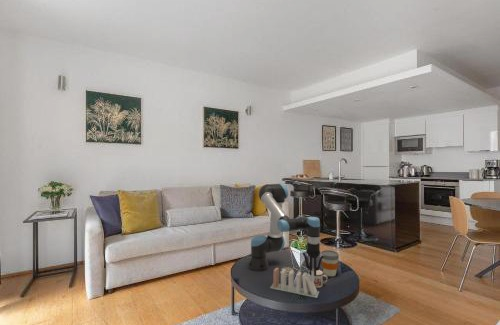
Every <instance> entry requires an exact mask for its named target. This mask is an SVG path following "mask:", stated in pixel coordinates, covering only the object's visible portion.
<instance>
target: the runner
mask: <svg viewBox="0 0 500 325" xmlns="http://www.w3.org/2000/svg"><path fill="white" fill-rule="evenodd" d="M269 289H272V290H277V291H282V292H286V293H293V294H296V295H297V294H298V295H300V296H302V295H303V296H307V297H312V298H316V299H317V298H318V296H319V293H320V291H318V290H317V292H316V295H314V296H312V293H311V291H310V289H309V292H308V294H304V288H303V287H301V291H300V293H297V292H296V286H294V288H293V290H292V291H288V284H286V287H285V289H284V290H282V289H281V283H279V285H278V286H277V288H273V283H272V284H271V286H270V287H269Z"/></svg>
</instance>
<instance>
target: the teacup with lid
mask: <svg viewBox="0 0 500 325" xmlns="http://www.w3.org/2000/svg"><path fill="white" fill-rule="evenodd" d="M308 274H310V270H309V271H308ZM323 277H325V278H326V279H325V280H323V279H324V278H323ZM327 281H328V276H326V275H324V274H323V270H320V269H319V270H317V271H316V276H315V280H314V285H315V287H316V289H317V288H323V286H324V285H323V284H325V283H327Z"/></svg>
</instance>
